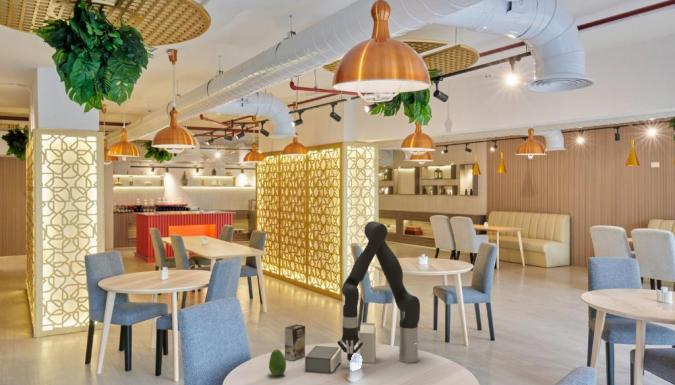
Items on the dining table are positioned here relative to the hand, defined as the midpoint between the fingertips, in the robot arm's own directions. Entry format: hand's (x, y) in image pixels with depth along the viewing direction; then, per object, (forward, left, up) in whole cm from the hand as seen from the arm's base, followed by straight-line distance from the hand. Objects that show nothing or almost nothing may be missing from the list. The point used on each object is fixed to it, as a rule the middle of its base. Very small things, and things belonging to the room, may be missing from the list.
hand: (350, 360), depth 256 cm
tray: (+13, 0, -3) cm, 13 cm away
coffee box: (+31, -9, -4) cm, 32 cm away
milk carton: (-6, -14, -4) cm, 15 cm away
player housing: (+14, 0, -4) cm, 14 cm away
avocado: (+31, +17, -4) cm, 36 cm away
